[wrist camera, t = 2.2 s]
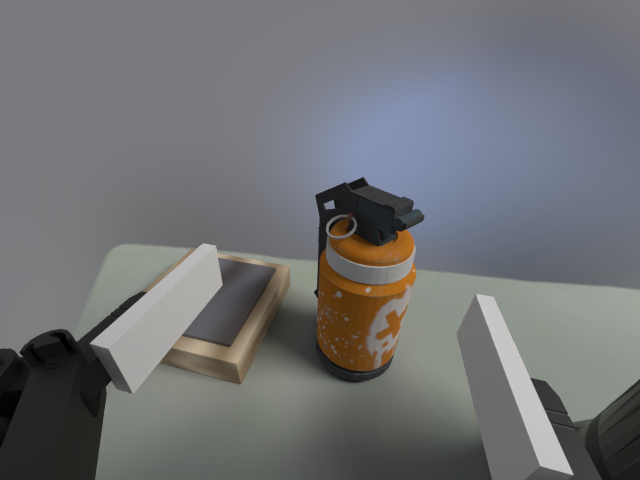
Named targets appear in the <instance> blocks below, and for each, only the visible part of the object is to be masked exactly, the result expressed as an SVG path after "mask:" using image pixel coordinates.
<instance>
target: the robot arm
mask: <svg viewBox="0 0 640 480" xmlns="http://www.w3.org/2000/svg"><path fill="white" fill-rule="evenodd" d="M222 285H223V284H222V278H221V272H220V267H219V261H218V255H217V249H216V246H213V245H209V244H202V245H201V246H200V247H198V248H197V249H196V250H195V251H194V252H193V253H192V254H191V255H189V256H188V257H187V258H186V259H185V260H184V261H183V262H181V263H180V264H179V265H178V266H177V267H176V268H175V269H174V270H172V271H171V272H170V273H169V274H168V275H167V276H166V277H164V278H163V279H162V280H161V281H160V282H159V283H158V284H156V285H155V286H154V287H153V288H152V289H151V290H150V291H149V292H143V291H142V292H140V293H138V294H136V295H134V296H132V297H130V298H129V299H128V300H126V301H125V302H124V303H123V304H122V305H121V306H119V308H117V309H116V310H115V311H113V312H112V313H111V315H110V316H107V317H106V318H105V319H104V320H103V321H102V322H100V323H99V324H98V325H97V326H96V327H94V328H93V329H92V330H91V331H90V332H88V333H87V334H86V335H85V336H84V337H83V338H81V339H80V340H79V341H78V342H76V341H75V339H74V338H73V336H72V335H71V333H70V332H68V331H67V330H63V329H58V330H51V331H49V332H46V333H43V334H41V335H39V336H37V337H35V338H33V339H32V340H30V341H29V342H28V343H27V344H26V345H24V347H23V348H22V349H21V351H20V354H21V355H22V356H23V357H19V356H18V354H17V353H16V352H15V351H14V350H12V349H0V480H95V475H96V468H97V460H98V453H99V446H100V438H101V431H102V424H103V417H104V409H105V402H106V395H107V393H106V388H105V387H106V386H107V385H108V384H109V383H110V381H111V380H112V382H113V384H114V385H115V387H116V389H118V390H121V391H125V392H128V393H132V394H134V393H135V392H136V390H137V389H138V388H139V387H140V385H141V384H142V383H143V382H144V381H145V379H146V378H147V377H148V376H149V374H150V373H151V372H152V371H153V369H154V368H155V367H156V366H157V365H158V363H159V362H160V361H161V360H162V358H163V357H164V356H165V355H166V354H167V352H168V351H169V350H170V349H171V347H172V346H173V345H174V344H175V343H176V341H177V340H178V339H179V338H180V336H181V335H182V334H183V333H184V332H185V330H186V329H187V328H188V327H189V325H190V324H191V323H192V322H193V321H194V319H195V318H196V317H197V316H198V314H199V313H200V312H201V311H202V310H203V308H204V307H205V306H206V305H207V303H208V302H209V301H210V300H211V299H212V297H213V296H214V295H215V294H216V292H217V291H218V290H219V289H220V288H221V286H222ZM457 338H458V342H459V346H460V350H461V354H462V358H463V362H464V366H465V370H466V375H467V379H468V383H469V387H470V391H471V395H472V399H473V403H474V408H475V412H476V416H477V420H478V424H479V428H480V432H481V436H482V440H483V445H484V449H485V453H486V457H487V461H488V465H489V469H490V473H491V478H492V480H640V379H639V380H638V381H637V382H636V383H635V384H634V385H632V386H631V387H630V388H629V389H628V390H626V391H625V392H624V393H623V394H622V395H621V396H619V397H618V398H617V399H616V400H615V401H613V402H612V403H611V404H610V405H609V406H607V407H606V409H605V410H603V411H602V412H601V413H600V414H599V415H598V416H596V417H595V418H594V419H589V420H583V421H578V422H572V421H571V419H570V417H569V416H568V415H567V414H568V413H567V411H566V409H565V407H564V405H563V403H562V401H561V399H560V397H559V396H558V395H557V394H556V393H555V391H554V390H553V389H552V388H551V387H550V386H549V385H548V384H547V382H546V381H542V380H538V379H533V378H530V377H529V375H528V372H527V370H526V368H525V366H524V363H523V361H522V359H521V357H520V355H519V352H518V350H517V348H516V346H515V343H514V341H513V339H512V337H511V335H510V332H509V330H508V328H507V326H506V323H505V321H504V319H503V317H502V315H501V312H500V310H499V308H498V306H497V303H496V301H495V299H494V297H491V296H485V295H480V294H475V296H474V298H473V300H472V302H471V305H470V307H469V309H468V311H467V313H466V315H465V317H464V319H463V321H462V323H461V326H460V328H459V330H458V332H457Z"/></svg>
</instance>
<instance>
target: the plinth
mask: <svg viewBox="0 0 640 480" xmlns="http://www.w3.org/2000/svg"><path fill="white" fill-rule="evenodd" d="M194 251H195V250H194V249H191V250H190V251H189V252H188V253H187V254H186V255H184V256H183V257H182V258H181V259H180V260H179V261H178V262H176V263H175V264H174V265H173V266H172V267H171V268H170V269H168V270H167V271H166V272H165V273H164V274H163V275H162V276H160V277H159V278H158V279H157V280H156V281H155V282H154V283H152V284H151V285H150V286H149V287H148V288H147V289H145V290H144V291H143V292H149V291H150V290H151V289H152V288H153V287H154V286H155V285H156V284H158V283H159V282H160V281H161V280H162V279H163V278H164V277H166V276H167V275H168V274H169V273H170V272H171V271H172V270H174V269H175V268H176V267H177V266H178V265H179V264H180V263H181V262H183V261H184V260H185V259H186V258H187V257H188V256H189V255H191V254H192V253H193V252H194ZM217 255H218V261H219V267H220V272H221V278H222V284H223V285H222V286H221V288H220V289H219V290H218V291H217V292H216V294H215V295H214V296H213V297H212V299H211V300H210V301H209V302H208V303H207V305H206V306H205V307H204V308H203V310H202V311H201V312H200V313H199V314H198V316H197V317H196V318H195V319H194V321H193V322H192V323H191V324H190V325H189V327H188V328H187V329H186V330H185V332H184V333H183V334H182V335H181V336H180V338H179V339H178V340H177V341H176V343H175V344H174V345H173V346H172V347H171V349H170V350H169V351H168V352H167V354H166V355H165V356H164V357H163V358H162V360H161V361H160V362H159V363H162V364H166V365H170V366H174V367H177V368H181V369H185V370H189V371H193V372H196V373H200V374H204V375H208V376H211V377H215V378H219V379H223V380H227V381H230V382H234V383H238V384H241V383H242V381H243V379H244V377H245V375H246V373H247V371H248V369H249V367H250V365H251V363H252V361H253V359H254V357H255V355H256V353H257V351H258V349H259V347H260V345H261V343H262V341H263V339H264V337H265V335H266V333H267V330H268V328H269V326H270V324H271V322H272V320H273V318H274V316H275V314H276V312H277V310H278V308H279V306H280V304H281V302H282V300H283V298H284V296H285V294H286V292H287V290H288V288H289V286H290V266H286V265H280V264H274V263H268V262H263V261H257V260H251V259H246V258H240V257H234V256H229V255H223V254H217Z"/></svg>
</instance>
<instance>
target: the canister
mask: <svg viewBox="0 0 640 480" xmlns="http://www.w3.org/2000/svg"><path fill="white" fill-rule="evenodd" d="M331 200H334V205H335V209H328V210H326V209H325V206H324V203H327V202H329V201H331ZM316 201H317V206H318V211H319V216H320V224H319V225H320V226H319V241H318V242H319V251H318V278H317V289H316V290H315V291H314V293H315V295H316V297H317V298H318V316H317V341H316V346H317V351H318V354H319V357H320V359H321V360H322V362H323V363H324V364H325V366H326V367H327V368H328V369H329V370H331V371H332V372H333V373H335V374H336V375H338V376H340V377H343V378H346V379H349V380H354V381H365V380H370V379H374V378H376V377H378V376H380V375H381V374H383V373H384V372H385V371H386V370H387V369H388V367H389V366H390V364H391V361H392V358H393V355H394V351H395V348H396V344H397V341H398V337H399V334H400V330H401V327H402V323H403V320H404V316H405V313H406V309H407V306H408V302H409V299H410V295H411V292H412V288H413V285H414V281H415V278H416V267H415V265H414V263H413V259H414V256H415V251H416V248H415V244H414V241H413V238H412V236H411V234H410V233H409V232H408V231H407V230H406V229H408V228H410V227H412V226H414V225H416V224H418V223H420V222H422V221H423V220H424V215H423V214H422V213H421V211H420V210H417V209H415V210H413V211H412V208H413V205H414V202H413V200H411V199H408V198H406V197H402V198H400V197H398V196H395V195H392V194H390V193H388V192H385V191H382V190H380V189H377V188H375V187H372V186H370V185H369V184H368V183H367V181H366V180H365V178H364V177H363V178H360V179H358V180H355V181H353V182H351V183H348V184H347V183H346V182H345V183H343V184H340V185H338V186H336V187H333V188H331V189H328V190H326V191H324V192H321V193H319V194H317V195H316Z"/></svg>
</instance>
